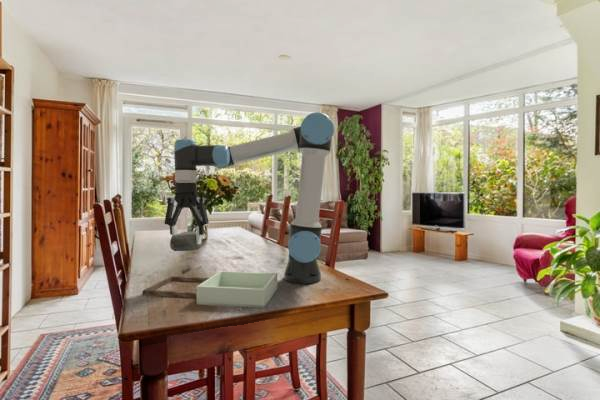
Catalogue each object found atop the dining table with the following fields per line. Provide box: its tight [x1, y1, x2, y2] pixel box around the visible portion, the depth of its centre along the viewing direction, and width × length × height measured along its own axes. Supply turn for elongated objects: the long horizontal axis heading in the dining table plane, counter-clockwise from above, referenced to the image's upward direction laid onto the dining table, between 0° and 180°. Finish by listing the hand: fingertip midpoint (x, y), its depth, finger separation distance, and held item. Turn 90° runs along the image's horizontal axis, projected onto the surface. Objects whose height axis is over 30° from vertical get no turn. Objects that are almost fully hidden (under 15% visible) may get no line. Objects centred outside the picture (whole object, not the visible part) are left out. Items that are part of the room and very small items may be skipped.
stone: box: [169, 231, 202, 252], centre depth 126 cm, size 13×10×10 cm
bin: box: [196, 270, 278, 309], centre depth 119 cm, size 22×21×6 cm
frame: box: [142, 275, 210, 299], centre depth 128 cm, size 22×20×2 cm
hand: (187, 243), depth 127 cm, fingers closed on stone, 9 cm apart
